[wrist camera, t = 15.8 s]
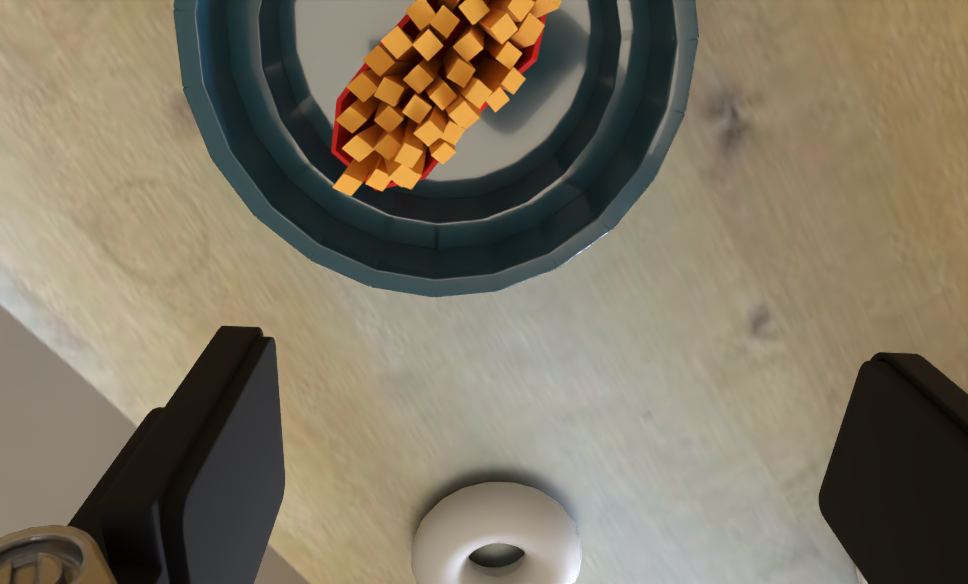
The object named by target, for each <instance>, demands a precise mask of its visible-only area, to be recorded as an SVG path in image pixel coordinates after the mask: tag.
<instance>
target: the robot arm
mask: <svg viewBox="0 0 968 584" xmlns="http://www.w3.org/2000/svg"><path fill="white" fill-rule="evenodd" d="M284 488H285V469H284V455H283V441H282V427H281V413H280V399H279V385H278V371H277V357H276V345H275V340H274V338H273V337H263V332H262V330H261V328H260V327H238V326H221V327H220V328H219V329H218V331H217V332H216V334H215V335H214V337H213V338H212V340H211V341H210V342H209V344H208V345H207V347H206V348H205V350H204V351H203V353H202V354H201V355H200V357H199V358H198V360H197V361H196V363H195V364H194V366H193V367H192V368H191V370H190V371H189V373H188V374H187V376H186V377H185V379H184V380H183V381H182V383H181V384H180V386H179V387H178V389H177V390H176V392H175V393H174V394H173V396H172V397H171V399H170V400H169V402H168V403H167V405H166V406H165V407H164V408H162V407H158V408H155V409H152V410H151V411H150V412H149V414H148V415H147V416H146V417H145V418H144V420H143V421H142V423H141V424H140V425H139V427H138V428H137V430H136V431H135V433H134V434H133V435H132V437H131V438H130V439H129V441H128V442H127V443H126V445H125V446H124V448H123V449H122V450H121V452H120V453H119V455H118V456H117V457H116V459H115V460H114V462H113V463H112V465H111V466H110V467H109V469H108V470H107V471H106V473H105V474H104V475H103V477H102V478H101V480H100V481H99V482H98V484H97V485H96V487H95V488H94V489H93V491H92V492H91V494H90V495H89V496H88V498H87V499H86V500H85V502H84V503H83V505H82V506H81V507H80V509H79V510H78V512H77V513H76V514H75V516H74V517H73V518H72V520H71V521H70V523H69V524H68V525H67V526H60V525H48V526H40V527H32V528H28V529H25V530H21V531H18V532H14V533H11V534H8V535H5V536H3V537H1V538H0V584H254V581H255V578H256V575H257V572H258V570H259V567H260V564H261V561H262V558H263V555H264V552H265V549H266V546H267V543H268V541H269V538H270V535H271V532H272V529H273V526H274V523H275V520H276V517H277V514H278V511H279V509H280V506H281V503H282V499H283V495H284ZM819 507H820V510H821V513H822V515H823V517H824V519H825V520H826V522H827V523H828V525H829V526H830V528H831V529H832V531H833V532H834V534H835V535H836V537H837V538H838V540H839V541H840V543H841V544H842V546H843V547H844V549H845V550H846V552H847V553H848V555H849V556H850V558H851V559H852V561H853V562H854V564H855V565H856V575H857V577H858V580H859V583H860V584H968V394H967V393H966V392H965V391H963V390H962V389H961V388H960V387H958V386H957V385H956V384H955V383H954V382H952V381H951V380H950V379H949V378H948V377H946V376H945V375H944V374H943V373H942V372H940V371H939V370H938V369H937V368H935V367H934V366H933V365H932V364H931V363H929V362H928V361H927V360H926V359H925V358H923V357H922V356H920V355H918V354H910V353H885V352H879V353H877V354H875V355H874V356H873V357H872V358H871V360H870V361H866V362H864V363H863V364H862V366H861V368H860V370H859V373H858V376H857V379H856V382H855V385H854V388H853V391H852V394H851V397H850V400H849V403H848V406H847V409H846V412H845V415H844V418H843V421H842V425H841V428H840V431H839V434H838V437H837V440H836V443H835V446H834V449H833V452H832V455H831V458H830V461H829V464H828V467H827V470H826V473H825V476H824V479H823V483H822V486H821V489H820V492H819Z"/></svg>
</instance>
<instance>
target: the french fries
mask: <svg viewBox="0 0 968 584" xmlns="http://www.w3.org/2000/svg"><path fill="white" fill-rule="evenodd" d="M561 1H562V0H417V1H416V2H414V3H413V4H412V5H411V6H410V7H409V8H408V9H406V10H405V11H406V13H407V14H406V15H405V16H404V17H403V18H402V20H401V21H400V22H399V23H398V24H397V25H396V26H395V28H394V29H393V30H392V31H391V32H390V33H389V34H388V35H386V36H385V37H384V38H383V39H382V40H381V42H382V43H381V44H380V45H377V46H376V47H375V48H374V49H373V50H372V51H371V52H370V53H369V54H368V55H367V56H366V57H365V58H364V59H363V61H364V62H365V63H364V65H363V66H362V67H361V68H360V70H359V71H358V72H357V74H356V75H355V76H354V77H353V79H352V80H351V81H350V83H349V84H348V85H347V87H346V88H345V89H344V91H343V92H342V93H341V95H340V96H339V97H338V99H337V101H336V110H335V120H334V130H333V139H332V149H331V152H332V153H333V154H334V155H335V156H336V157H337V158H339V159H340V160H341V161H342V162H343V163H344V164H345V165H347V166H348V168H347V169H346V170H345V171H344V173H343V174H342V175H341V177H340V178H339V179H338V181H337V182H336V183H335V185H334V186H333V187H332V188H334V189H336V190H339V191H341V192H343V193H345V194H347V195H350V196H352V195H353V193H354V192H355V191H356V190H357V189H358V187H359V186H360V185H361V184H362V183H363V181H365V182H366V183H365V184H366V185H369V186H371V187H372V188H373V189H374V190H376V191H377V190H380V191H382V192H383V190H384V189H385V188H389V187H393V186H397V185H399V186H401V187H403V186H404V187H406V188H409V189H412V188H413V187H414V185H415V184H416V183H417V181H418V180H423V179H425V178H426V177H427V176H428V175H429V173H430V172H431V171H432V170H433V168H434V167H435V166H436V165H437V164H438V162H440V163H441V164H444V163H446V162H447V161H448V160H449V159H450V158H451V157H452V156H453V155H454V154H455V153H456V149H455V147H454V145H456V143H457V142H458V140H459V139H460V137H461V136H462V134H463V132H464V131H465V130H466V129H467V128H468V127H470V126H471V125H472V124H473V123H475V122H476V121H477V120H478V119H479V118H480V113H481V112H482V111H483V110H484V109H485V108H486V107H487V106H488V105H490V107H491V108H492V109H493V110H494V111H495V112H497V111H498V110H499V109H500V108H501V107H502V106H503V105H504V104H506V103H507V102H508V101H509V100H510V99H509V98H508V96H507V95H506V94H505V93H504V90H506V91H508V92H510V93H511V94H513V95H514V94H515V92H516V91H517V90H518V88H519V87H520V86H521V84H522V83H523V82H524V81H525V78H524V77H523V76H522V75H521V74H522V73H523V72H525V71H526V70H527V69H528V68H529V67H530V66H531V65H532V64H533V63H535V62H536V61H537V57H538V53H539V48H540V43H541V39H542V34H543V29H544V26H545V20H546V15H547V13H549V12H552V11H554V10H556V9H558V8H559V6H560V4H561Z"/></svg>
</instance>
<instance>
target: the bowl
mask: <svg viewBox="0 0 968 584" xmlns="http://www.w3.org/2000/svg"><path fill="white" fill-rule="evenodd" d="M416 1H417V0H174V8H175V9H174V11H173V12H174V20H175V29H176V37H177V45H178V53H179V61H180V69H181V77H182V85H183V87H184V88H183V91H184V93H185V96H186V98H187V101H188V103H189V105H190V108H191V110H192V113H193V115H194V118H195V120H196V123H197V125H198V127H199V130H200V132H201V135H202V137H203V140H204V142H205V145H206V147H207V149H208V152H209V154H210V157H211V158H212V160H213V162H214V163H215V164H216V166H217V167H218V168H219V170H220V171H221V172H222V174H223V175H224V176H225V178H226V179H227V180H228V182H229V183H230V184H231V186H232V187H233V188H234V190H235V191H236V192H237V194H238V195H239V196H240V197H241V199H242V200H243V201H244V203H245V204H246V205H247V207H248V208H249V209H250V211H251V212H252V213H253V215H254V216H256V217H257V218H258V219H259V220H260V221H261V222H263V223H264V224H265V225H266V226H268V227H269V228H270V229H272V230H273V231H274V232H275V233H277V234H278V235H279V236H280V237H282V238H283V239H284V240H285V241H287V242H288V243H289V244H290V245H292V246H293V247H294V248H295V249H297V250H298V251H299V252H301V253H302V254H303V255H304V256H306V257H307V258H308V259H310V260H311V261H313V262H315V263H317V264H320V265H322V266H324V267H326V268H329V269H331V270H333V271H335V272H338V273H340V274H342V275H344V276H347V277H349V278H351V279H354V280H356V281H358V282H360V283H363V284H365V285H367V286H371V287H374V288H380V289H386V290H392V291H398V292H404V293H410V294H417V295H423V296H429V297H443V296H453V295H463V294H474V293H484V292H494V291H497V290H502V289H504V288H507V287H510V286H513V285H515V284H518V283H521V282H523V281H526V280H529V279H531V278H534V277H537V276H540V275H542V274H545V273H548V272H550V271H553V270H556V269H557V267H558V268H559V267H561V266H562V265H563V264H565V263H566V262H568V261H569V260H570V259H572V258H573V257H575V256H576V255H577V254H579V253H580V252H582V251H583V250H585V249H586V248H587V247H589V246H590V245H592V244H593V243H594V242H596V241H597V240H599V239H600V238H602V237H603V236H604V235H606V234H607V233H609V232H610V230H612V229H613V228H614V227H615V226H616V225H617V224H618V222H619V221H620V220H621V219H622V218H623V216H624V215H625V214H626V213H627V212H628V210H629V209H630V208H631V207H632V206H633V204H634V203H635V202H636V201H637V200H638V198H639V197H640V196H641V195H642V194H643V192H644V191H645V190H646V189H647V188H648V186H649V185H650V184H651V183H652V182H653V180H654V177H656V175H657V173H658V171H659V169H660V167H661V165H662V163H663V160H664V158H665V156H666V154H667V152H668V150H669V148H670V145H671V143H672V141H673V139H674V137H675V135H676V133H677V130H678V128H679V126H680V124H681V122H682V120H683V117H684V115H685V113H684V112H685V111H686V107H687V101H688V96H689V90H690V84H691V79H692V73H693V67H694V61H695V56H696V50H697V44H698V39H697V38H698V37H699V34H698V23H697V13H696V2H695V0H562V1H561V4H560V6H559V8H558V9H556V10H554V11H552V12H549V13H547V15H546V20H545V26H544V29H543V34H542V39H541V43H540V48H539V53H538V57H537V61H536V62H535V63H533V64H532V65H531V66H530V67H529V68H528V69H527V70H526V71H525V72H523V73H522V74H521V75H522V76H523V77H524V78H525V81H524V82H523V83H522V84H521V86H520V87H519V88H518V90H517V91H516V92H515V94H514V95H513V94H511V93H510V92H508V91H506V90H504V93H505V94H506V95H507V96H508V98H509V99H510V100H509V101H508V102H507V103H506V104H504V105H503V106H502V107H501V108H500V109H499V110H498V111H497V112H495V111H494V110H493V109H492V108H491V107H490V105H488V106H487V107H486V108H485V109H484V110H483V111H482V112H481V113H480V118H479V119H478V120H477V121H476V122H475V123H473V124H472V125H471V126H470V127H468V128H467V129H466V130H465V131H464V132H463V134H462V136H461V137H460V139H459V140H458V142H457V143H456V145H454V147H455V149H456V153H455V154H454V155H453V156H452V157H451V158H450V159H449V160H448V161H447V162H446V163H444V164H441V163H440V162H438V164H437V165H436V166H435V167H434V168H433V170H432V171H431V172H430V173H429V175H428V176H427V177H426V178H425V179H423V180H418V181H417V183H416V184H415V185H414V187H413V188H412V189H409V188H406V187H404V186H403V187H401V186H399V185H397V186H393V187H389V188H385V189H384V190H383V192H382V191H380V190H377V191H376V190H374V189H373V188H372V187H371V186H369V185H366V184H365V183H366V182H365V181H363V183H362V184H361V185H360V186H359V187H358V189H357V190H356V191H355V192H354V193H353V195H352V196H350V195H347V194H345V193H343V192H341V191H339V190H336V189H334V188H332V187H333V186H334V185H335V183H336V182H337V181H338V179H339V178H340V177H341V175H342V174H343V173H344V171H345V170H346V169H347V168H348V166H347V165H345V164H344V163H343V162H342V161H341V160H340V159H339V158H337V157H336V156H335V155H334V154H333V153H332V152H331V149H332V139H333V130H334V120H335V110H336V101H337V99H338V97H339V96H340V95H341V93H342V92H343V91H344V89H345V88H346V87H347V85H348V84H349V83H350V81H351V80H352V79H353V77H354V76H355V75H356V74H357V72H358V71H359V70H360V68H361V67H362V66H363V65H364V63H365V62H364V61H363V59H364V58H365V57H366V56H367V55H368V54H369V53H370V52H371V51H372V50H373V49H374V48H375V47H376V46H377V45H380V44H381V43H382V42H381V40H382V39H383V38H384V37H385V36H386V35H388V34H389V33H390V32H391V31H392V30H393V29H394V28H395V26H396V25H397V24H398V23H399V22H400V21H401V20H402V18H403V17H404V16H405V15H406V14H407V13H406V11H405V10H406V9H408V8H409V7H410V6H411V5H412V4H413V3H414V2H416Z"/></svg>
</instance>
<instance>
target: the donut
mask: <svg viewBox="0 0 968 584" xmlns="http://www.w3.org/2000/svg"><path fill="white" fill-rule="evenodd" d="M493 543H506V544H510V545H514V546H517V547H518V548H520V549H522V550H523V551H524V552H525V554H524V555H523V556H522V557H521V558H520V559H519V560H518V561H517V562H515V563H513V564H511V565H508V566H503V567H499V568H498V567H484V566H480V565H478V564H476V563H474V562H472V561H471V560H470V559H469V555H470V554H471V553H472V552H473V551H474V550H476V549H478V548H480V547H482V546H484V545H488V544H493ZM581 556H582V546H581V542H580V539H579V535H578V531H577V527H576V525H575V523H574V521H573V520H572V519H571V517H570V516H569V515H568V513H567V512H566V511H565V510H564V508H563V507H562V506H561V504H559V503H558V502H557V501H555V500H554V499H552V498H551V497H549V496H548V495H546V494H544V493H543V492H541V491H540V490H538V489H535V488H532V487H528V486H525V485H521V484H518V483H514V482H485V483H481V484H477V485H473V486H468V487H464V488H462V489H460V490H458V491H456V492H454V493H453V494H451V495H449V496H447V497H445V498H443V499H442V500H441V501H440V502H439V503H438V504H437V505H436V506H435V507H434V508H433V509H432V510H431V511H430V512H429V513H428V514H427V515H426V516H425V517H424V518H423V519H422V521H421V524H420V526H419V528H418V530H417V532H416V535H415V537H414V539H413V543H412V572H413V574H414V576H415V579H416V581H417V584H574V582H575V580H576V579H577V576H578V574H579V569H580V563H581Z"/></svg>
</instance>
